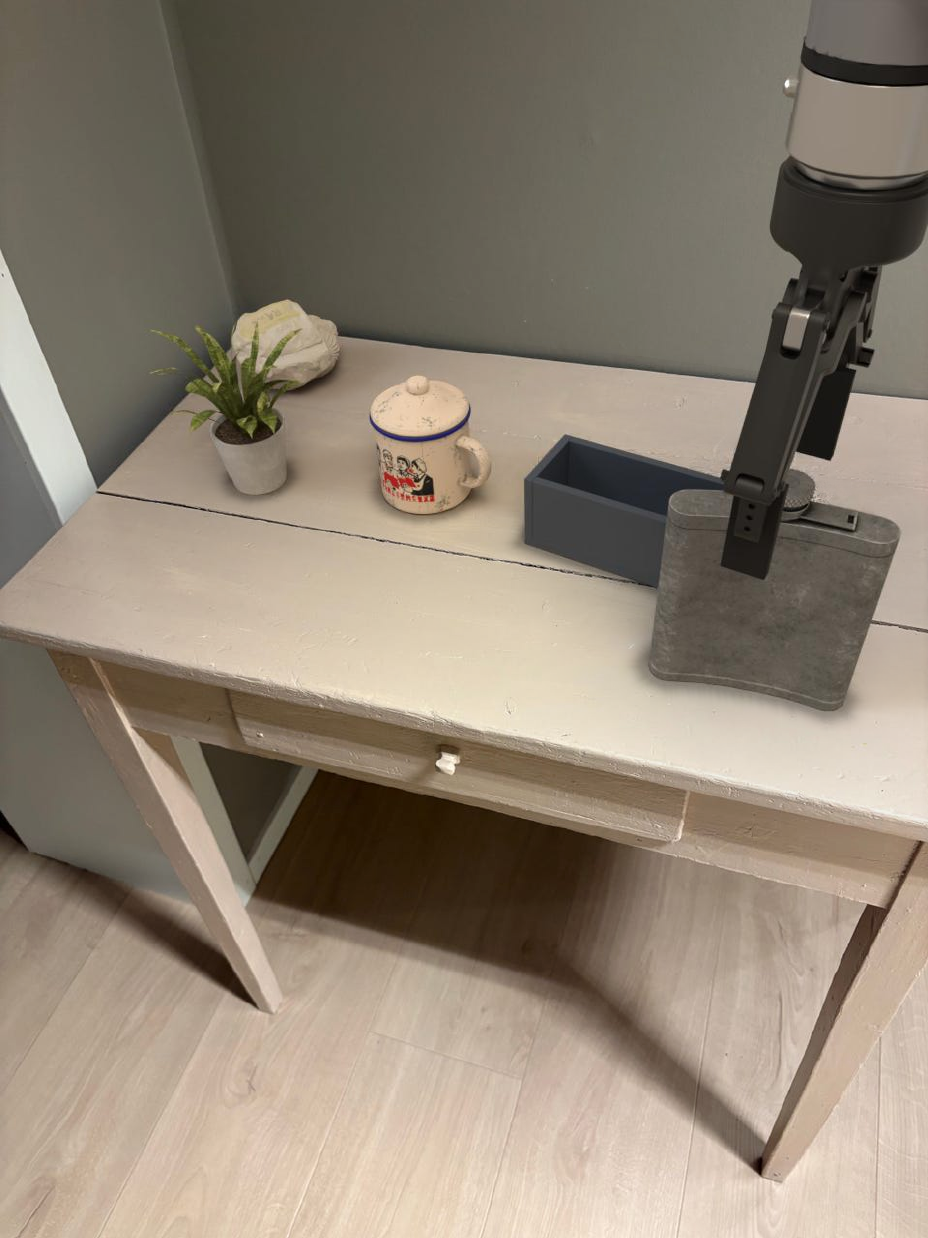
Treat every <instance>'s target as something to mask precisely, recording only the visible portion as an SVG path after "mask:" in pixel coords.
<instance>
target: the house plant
mask: <svg viewBox="0 0 928 1238" xmlns="http://www.w3.org/2000/svg"><path fill="white" fill-rule="evenodd" d="M237 321H238V320H236V321H235V323H234V324H233V326H232V329H231V334H230V335H231V336H230V353H231V357H232V359H231V362H230V359H229V357H228V355H227V353H226V351H225V350H224V348H223V347H222V346H221V344H220V343H219V342H218V341H217V340H216V339H215V338H214V337H213V336H212V335H211V334H210V333H208V332H207V331H205V330H204V329H203V328H201V326H199V325H197V324H194V325H195V326H194V328H195V330H196V331H197V332H198V334H199V335H200V337H201V338H202V340H203V342H204V344H205V347H206V349H207V352H208V356H209V358H210V359H211V362H212V364H213V366H214V367H215V370H216V371H217V373H218V375H219V377H220V379H221V381H220V380H219V379H218V378H217V376H215V374H214V373H213V372H212V371H211V370H210V369H209V368H208V366H207V365H206V364H205V363H204V362H203V360H202V359H201V358H200V357H199V356H198V355H197V353H196V352H195V351H194V350H193V349H192V348H191V346H190V345H189V344H187V343H186V342H185V341H184V340H182V339H181V338H179V337H177V336H175V335H173V334H169V333H167V332H164V331H160V330H152V329H149V332H153V333H156V334H158V335H160V336H163V337H165V338H168V339H169V340H170V341H172V342H174V343H175V344H176V345H178V346H179V348H181V349H182V350H183V351H184V352H185V353H186V355H187V356H188V357H189V358H190V359H191V361H192V362H193V363H194V364H195V365H196V366H197V367H198V368H199V369H200V370H201V371H202V372H203V373H204V374H205V375H206V377H208V379H209V380H210V381H211V383H210V382H208V381H207V380H206V379H204V378H202V377H200V376H199V375H198V374H196V373H193V372H191V371H187V370H184V369H181V368H177V367H164V368H159V369H155V370H153V371H152V372H149V373H148V375H151V374H154V373H157V372H161V373H158V374H156V375H155V377H158V376H161V375H167V374H168V375H169V374H171V375H172V374H173V375H179V376H181V377H183V378H185V379H187V380H189V382H188V384H187V385H186V386H185V388H184V390H185V391H186V392H188V393H192V394H195V395H197V396H201V397H203V398H206V400H208V401H209V402H210V403H211V404H213V406H215V407H216V408H217V410H219V411H217V410H215V409H205V410H202V411H201V412H198V413H197V412H195V411H191V410H188V409H180V410H175V411H172V412H170V413H168V414H167V416H171V415H175V414H181V413H185V414H186V413H187V414H193V415H194V416H193V417H192V418H191V421H190V429H189V436H190V437H191V435H192V433H193V432H194V431H196V430H197V429H199V428H200V427H201V426H202V425H203V424H205V423H206V422H207V420H210V421H212V423H211V425H210V427H209V434H210V437H211V439H212V441H213V443H214V446H215V447H216V450H217V452H218V454H219V456H220V458H221V460H222V463H223V464H224V466H225V468H226V471H227V472H228V474H229V477H230V479H231V481H232V484H233V485H234V487H235V488H236V490H237V491H238V492H241V493H242V494H246V495H250V496H251V495H252V496H259V495H264V494H268V493H271V492H274V491H276V490H278V489H279V488H281V487H282V486H283V485H284V484H285V482H286V480H287V478H288V477H287V476H288V475H287V474H288V473H287V441H286V438H287V436H286V435H287V434H286V417H285V416H284V414H283V413H282V412H281V411H280V410H279V409H277V408H275V407H274V405H275V403H276V401H277V400H278V399H279V398H280V397H281V396H282V395H283V394H284V393H285V392H287V391H289V390H288V389H289V388H291V387H292V386H294V385H296V384H302V383H299V381H293V380H288V379H282V380H274V381H270V382H267V383H264V381H265V379H266V376H267V374H268V372H269V370H270V368H275V367H276V366H274V365H273V364H274V362H275V361H276V360H277V358H278V357H279V356H280V354H281V353H282V351H283V349H284V347H285V345H286V343H287V342H288V341H289V340H290V339H291V338H292V337H293V336H295V335H296V334H297V333H298V332H299V331H300V330H302V329H304V328H302V329H298V330H296V331H293V332H291V333H289V334H288V335H286V336H285V337H284V338H283V339H282V340H281V341H280V342H279V343H278V344H277V346H276V347H275V348H274V350H273V351H272V352H271V354H270V355H269V357H268V358H267V360H266V362H265V364H264V366H263V368H262V371H261V372H260V373H259V374H257V375H256V376H255V368H256V361H257V356H258V349H259V330H258V322H257V323H256V326H255V332H254V337H253V340H252V347H251V356H250V358H246V359H245V360H244V361H243V362H242V364H240V381H241V389H240V385H239V384H240V383H239V374H238V369H237V354H238V353H239V352H240V351H241V350H242V349H243V347H242V348H241V349H240V351H239V352H238V353H237V354H234V357H233V346H232V336H233V334H234V332H235V329H236V325H237ZM169 370H177V371H183V372H186V373H188V374H191V375H193V376H194V377H195V379H191V378H189V377H187V376H185V375H182V374H180V373H177V372H167V371H169ZM163 371H166V372H163ZM162 372H163V373H162ZM287 381H292V382H288V383H286V384H284V385H283V386H282V387H281V388H280V389H277V391H276V392H275V393H274V396H273V397H272V398H271V396H270V394H269V393H270V391H271V389H273V388H272V387H273V386H274V385H276V384H278V383H282V382H287ZM241 391H242V393H241ZM216 413H218V414H219V415H218V416H217V417H216V418H215V419H212V418H211V417H212V416H214V415H215V414H216Z"/></svg>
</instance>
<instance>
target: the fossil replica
mask: <svg viewBox="0 0 928 1238" xmlns="http://www.w3.org/2000/svg"><path fill="white" fill-rule="evenodd" d="M236 321H237V322H236V325H235V329H234V331H233V336H232V350H233V352H234V355H236V354H237V353H238V352H239V351H240V349H241V348H242V347H243V349H242V350H241V351H240V352H239V353H238V354H237V356H236V359H237V360H238V363H239V364H240V365H241V364H242V362H243V361H244V360H245V359H246V358H250V356H251V347H252V340H253V337H254V332H255V326H256V323H257V322H258V330H259V349H258V356H257V361H256V368H255V376H256V375H257V374H259V373H260V372H261V371H262V368H263V366H264V364H265V362H266V360H267V358H268V357H269V355H270V354H271V352H272V351H273V350H274V348H275V347H276V346H277V344H278V343H279V342H280V341H281V340H282V339H283V338H284V337H285V336H286V335H288V334H289V333H291V332H293V331H296V330H298V329H302V328H304V329H302V330H300V331H299V332H298V333H297V334H296V335H295V336H293V337H292V338H291V339H290V340H289V341H288V342H287V343H286V345H285V347H284V349H283V351H282V353H281V354H280V356H279V357H278V358H277V360H276V361H275V362H274V364H273V365H274V366H276V367H275V368H270V370H269V372H268V374H267V376H266V379H265V381H264V383H263V384H265V383H267V382H270V381H274V380H282V379H288V380H293V381H299V383H302V384H296V385H294V386H292V387H291V388H289V389H288V390H287V391H293V390H295V389H296V388H301V387H302V386H305V385H306V384H307V383H309V382H311V381H313V380H317V379H318V378H323V377H324V376H326V375H328V374H329V372H331V371H332V370H333V369H334V368H335V366H336V362H337V361H338V360H339V356H340V353H341V352H340V349H341V346H340V345H339V340H338V339H339V337H338V336H339V332H338V327H337V326H336V324H335V323H334V322H333V321H331V320H328V319H323V318H322V319H321V318H320V317H319V316H318V315H313V314H307V313H306V312H305V311H304V310H303V308H302V306H301V305H300V304H299V303H297V302H296V301H292V300H290V299H284V300H280V301H277V302H274V303H270V304H269V305H266V306H263V307H261V308H259V309H258V310H257V311H253V312H245V313H243V314H242V315H241V316H240V317H239V318H238V319H237V320H236ZM288 382H292V381H287V382H282V383H278V384H276V385H274V386H273V387H272V388H271V389H274V390H279V389H280V388H281V387H282V386H283V385H284V384H286V383H288Z"/></svg>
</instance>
